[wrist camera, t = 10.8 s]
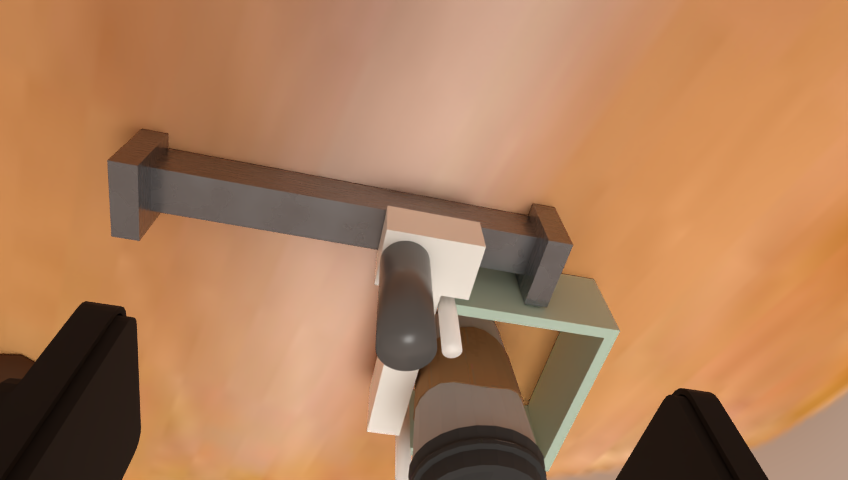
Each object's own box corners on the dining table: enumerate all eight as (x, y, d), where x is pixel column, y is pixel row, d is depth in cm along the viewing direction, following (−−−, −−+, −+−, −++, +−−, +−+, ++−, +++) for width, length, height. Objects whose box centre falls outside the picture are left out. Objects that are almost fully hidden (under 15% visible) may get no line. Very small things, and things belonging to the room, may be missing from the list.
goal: (435, 249, 42) (444, 341, 33) (594, 277, 44) (643, 371, 35) (394, 396, 49) (393, 502, 41) (532, 414, 51) (559, 519, 42)
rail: (141, 128, 36) (107, 160, 32) (554, 207, 40) (573, 244, 36) (143, 198, 39) (111, 236, 35) (532, 266, 43) (547, 307, 39)
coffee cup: (396, 366, 48) (396, 542, 35) (417, 285, 43) (425, 450, 31) (494, 379, 49) (528, 554, 36) (523, 301, 45) (574, 467, 32)
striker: (388, 196, 37) (383, 311, 27) (477, 212, 38) (506, 330, 28) (346, 385, 46) (331, 528, 35) (421, 395, 46) (427, 537, 36)
